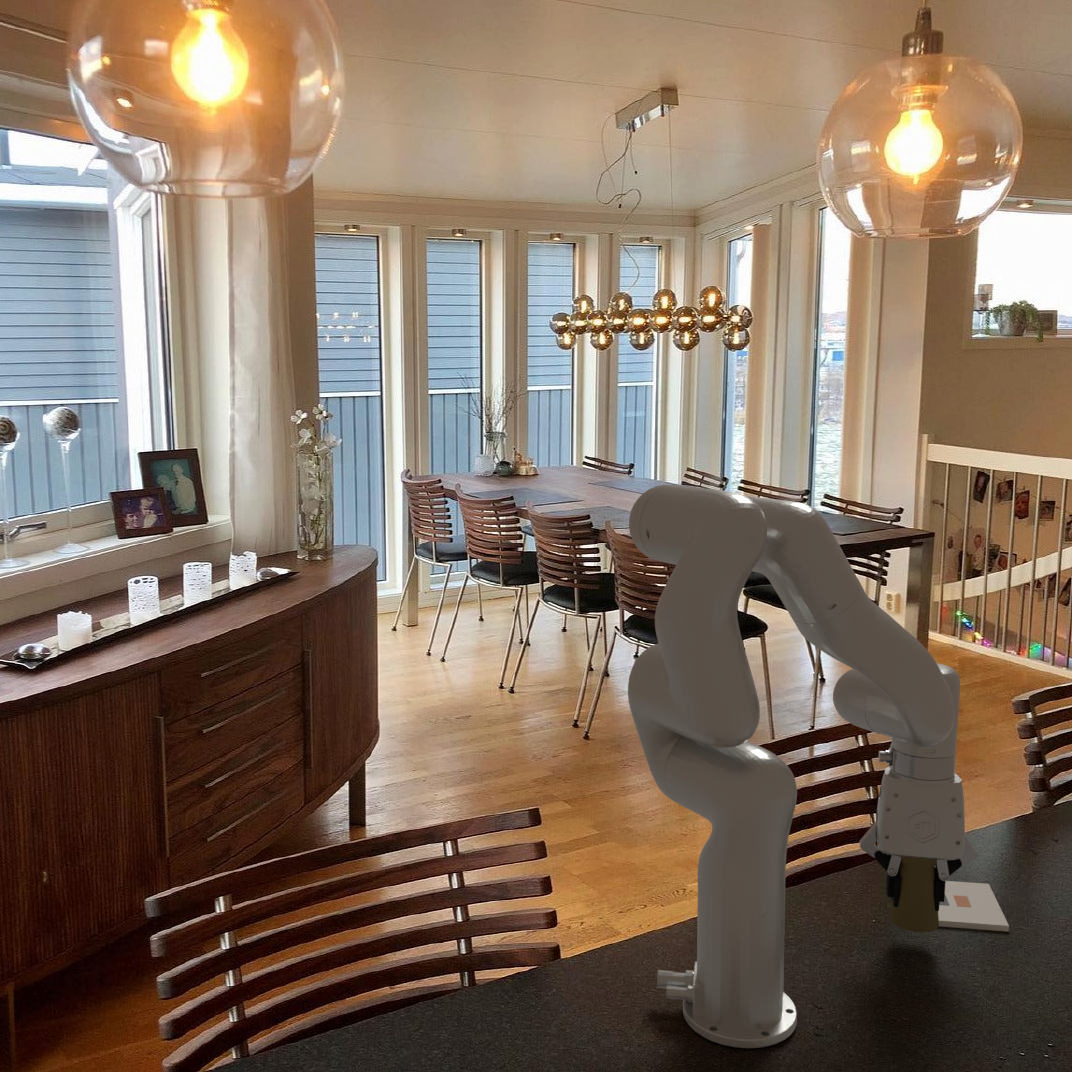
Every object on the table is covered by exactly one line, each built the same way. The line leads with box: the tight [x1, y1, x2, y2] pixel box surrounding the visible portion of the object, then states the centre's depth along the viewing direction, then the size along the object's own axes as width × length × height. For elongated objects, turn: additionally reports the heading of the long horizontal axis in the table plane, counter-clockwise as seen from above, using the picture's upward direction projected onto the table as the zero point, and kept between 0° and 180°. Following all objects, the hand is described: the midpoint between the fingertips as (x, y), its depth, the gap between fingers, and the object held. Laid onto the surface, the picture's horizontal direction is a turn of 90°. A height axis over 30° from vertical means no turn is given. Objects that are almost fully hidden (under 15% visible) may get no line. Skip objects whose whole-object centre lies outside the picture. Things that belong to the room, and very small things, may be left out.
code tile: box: [938, 880, 1010, 933], centre depth 146 cm, size 12×12×1 cm
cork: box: [888, 856, 940, 933], centre depth 135 cm, size 6×6×11 cm
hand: (914, 902), depth 136 cm, fingers closed on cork, 4 cm apart
